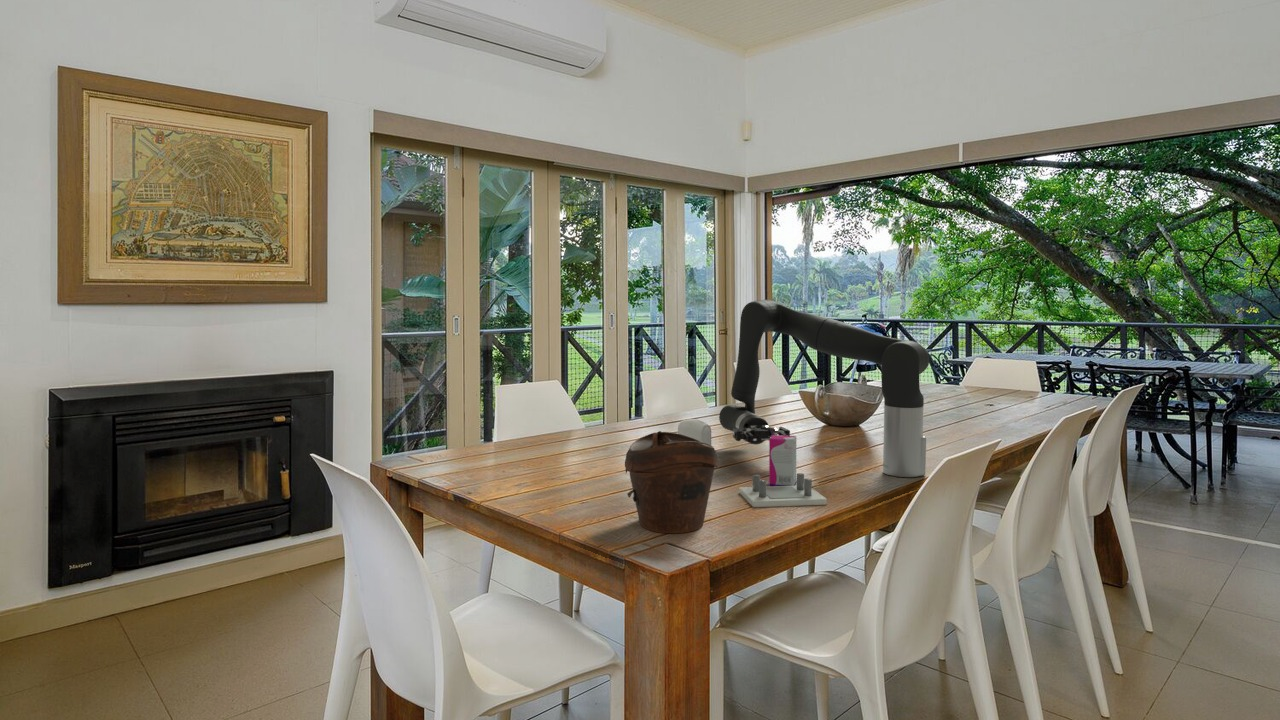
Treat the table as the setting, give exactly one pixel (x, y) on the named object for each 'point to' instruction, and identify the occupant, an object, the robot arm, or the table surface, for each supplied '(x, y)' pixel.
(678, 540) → the table surface
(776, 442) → the supplement box
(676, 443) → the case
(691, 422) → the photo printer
